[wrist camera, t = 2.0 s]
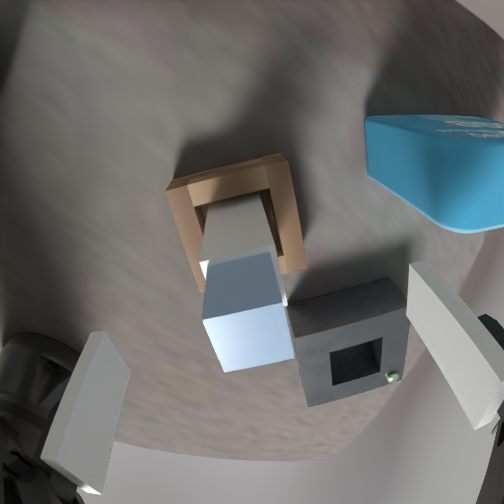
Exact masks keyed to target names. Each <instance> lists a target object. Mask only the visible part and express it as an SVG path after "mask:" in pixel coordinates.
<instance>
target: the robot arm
mask: <svg viewBox="0 0 504 504" xmlns="http://www.w3.org/2000/svg"><path fill="white" fill-rule="evenodd" d="M406 316H407V317H408V319H409V320H410V322H411V323H412V325H413V326H414V328H415V329H416V331H417V332H418V334H419V336H420V337H421V339H422V340H423V342H424V343H425V345H426V347H427V348H428V350H429V351H430V353H431V355H432V356H433V358H434V359H435V361H436V363H437V364H438V366H439V368H440V370H441V371H442V373H443V375H444V376H445V378H446V379H447V381H448V383H449V385H450V386H451V388H452V390H453V391H454V394H455V395H456V397H457V399H458V401H459V402H460V404H461V406H462V408H463V410H464V412H465V413H466V415H467V417H468V419H469V421H470V422H471V424H472V427H473V428H474V430H476V429H478V428H479V427H481V426H483V425H485V424H487V423H489V422H490V421H491V420H492V419H493V418H494V416H495V414H496V413H497V412H498V414H499V416H500V420H499V421H498V423H497V425H496V426H495V427H494V429H493V431H492V433H491V434H494V433H495V432H496V430H497V432H496V437H495V441H494V446H493V449H492V453H491V457H490V461H489V465H488V468H487V472H486V475H485V478H484V481H483V484H482V487H481V490H480V493H479V496H478V499H477V502H476V504H504V329H503V327H502V326H501V325H500V324H499V323H498V322H497V320H495V319H493V318H492V317H490V316H488V315H487V314H484V315H481V316H479V317H476V316H475V315H474V313H473V312H472V311H471V310H470V309H469V307H468V306H467V305H466V304H465V303H464V302H463V301H462V299H461V298H460V297H459V296H458V295H457V294H456V293H455V292H454V290H453V289H452V288H451V287H450V286H449V285H448V284H447V283H446V282H445V281H444V279H443V278H442V277H441V276H440V275H439V274H438V273H437V272H436V271H435V270H434V269H433V268H432V267H431V266H430V265H429V264H428V263H427V262H426V261H425V260H421V261H418V262H414V263H411V264H409V281H408V297H407V310H406ZM130 375H131V371H130V369H129V368H128V366H127V365H126V363H125V362H124V360H123V359H122V357H121V356H120V354H119V352H118V351H117V349H116V348H115V346H114V344H113V343H112V341H111V340H110V338H109V336H108V335H107V333H106V331H105V330H102V331H96V332H91V334H90V336H89V338H88V340H87V342H86V344H85V346H84V349H83V351H82V353H81V355H79V354H77V353H76V352H74V351H73V350H71V349H70V348H68V347H66V346H65V345H63V344H61V343H59V342H57V341H55V340H52V339H50V338H47V337H44V336H40V335H36V334H28V333H27V334H18V335H15V336H13V337H12V338H11V339H9V341H8V342H7V344H6V345H5V347H4V348H3V350H2V352H1V354H0V504H84V502H83V500H82V498H81V496H80V495H79V494H78V493H77V492H76V490H77V486H78V487H79V488H81V489H82V490H84V491H85V492H87V493H94V494H100V495H102V493H103V488H104V483H105V478H106V473H107V468H108V464H109V459H110V455H111V450H112V446H113V442H114V437H115V433H116V429H117V425H118V421H119V417H120V413H121V409H122V405H123V401H124V397H125V394H126V390H127V386H128V383H129V379H130Z"/></svg>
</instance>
